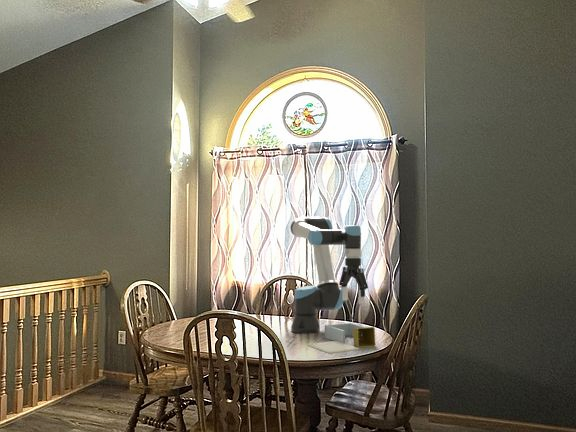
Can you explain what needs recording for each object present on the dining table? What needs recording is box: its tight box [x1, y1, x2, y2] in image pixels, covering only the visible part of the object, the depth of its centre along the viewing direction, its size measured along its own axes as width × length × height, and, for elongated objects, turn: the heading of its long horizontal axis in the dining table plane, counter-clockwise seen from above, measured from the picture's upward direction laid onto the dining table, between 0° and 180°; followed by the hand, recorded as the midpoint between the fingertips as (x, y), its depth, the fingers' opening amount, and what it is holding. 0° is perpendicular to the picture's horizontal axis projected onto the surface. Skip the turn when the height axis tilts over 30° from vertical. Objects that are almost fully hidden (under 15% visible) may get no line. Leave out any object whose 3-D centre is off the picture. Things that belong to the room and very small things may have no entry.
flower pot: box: [352, 326, 376, 349], centre depth 244 cm, size 9×9×9 cm
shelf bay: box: [324, 322, 366, 344], centre depth 257 cm, size 16×15×6 cm
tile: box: [307, 340, 360, 354], centre depth 239 cm, size 18×16×1 cm
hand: (353, 302), depth 253 cm, fingers open, 13 cm apart
